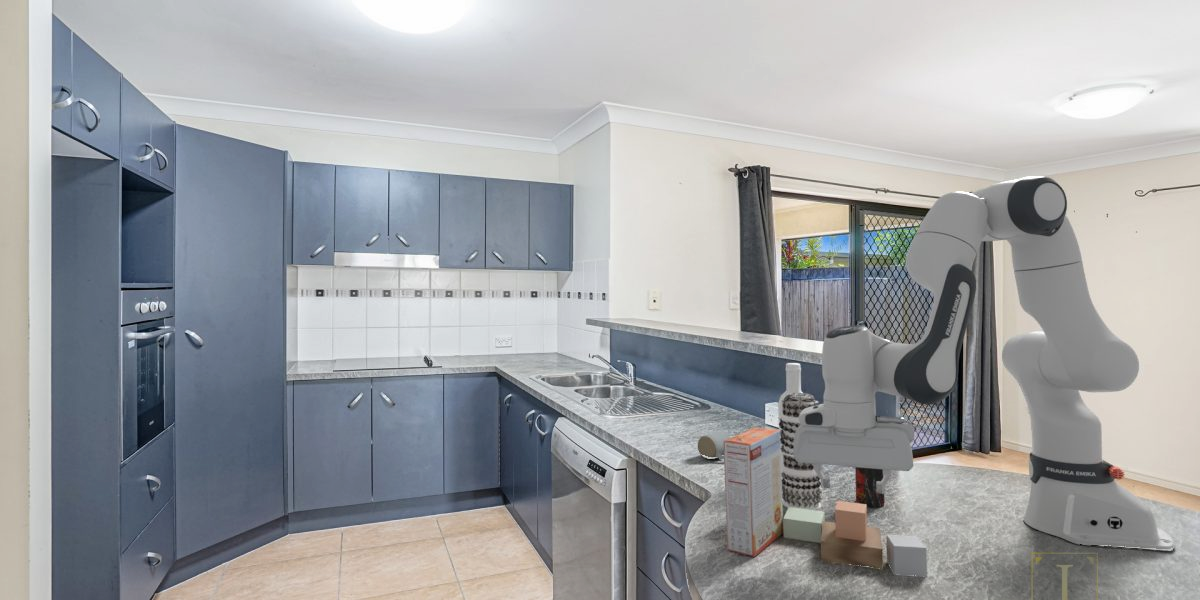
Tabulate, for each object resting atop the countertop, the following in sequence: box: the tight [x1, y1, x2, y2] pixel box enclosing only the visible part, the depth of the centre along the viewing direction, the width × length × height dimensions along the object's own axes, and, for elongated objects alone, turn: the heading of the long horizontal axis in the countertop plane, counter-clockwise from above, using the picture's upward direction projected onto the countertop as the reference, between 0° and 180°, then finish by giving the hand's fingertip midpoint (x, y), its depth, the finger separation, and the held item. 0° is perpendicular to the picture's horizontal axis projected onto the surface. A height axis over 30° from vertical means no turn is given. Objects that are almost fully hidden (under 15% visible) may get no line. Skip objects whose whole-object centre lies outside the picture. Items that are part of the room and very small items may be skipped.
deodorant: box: [854, 467, 885, 509], centre depth 135 cm, size 6×6×15 cm
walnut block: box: [820, 520, 884, 570], centre depth 109 cm, size 10×10×4 cm
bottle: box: [777, 362, 804, 479], centre depth 153 cm, size 8×8×30 cm
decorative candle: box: [778, 392, 823, 511], centre depth 135 cm, size 9×9×25 cm
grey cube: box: [885, 533, 928, 578], centre depth 103 cm, size 5×5×5 cm
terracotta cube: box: [834, 500, 868, 541], centre depth 109 cm, size 5×5×5 cm
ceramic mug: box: [697, 429, 732, 460], centre depth 175 cm, size 11×8×8 cm
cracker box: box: [724, 426, 784, 558], centre depth 115 cm, size 14×6×21 cm, turn 141°
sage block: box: [783, 507, 826, 544], centre depth 119 cm, size 7×7×4 cm
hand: (852, 489), depth 109 cm, fingers open, 8 cm apart
